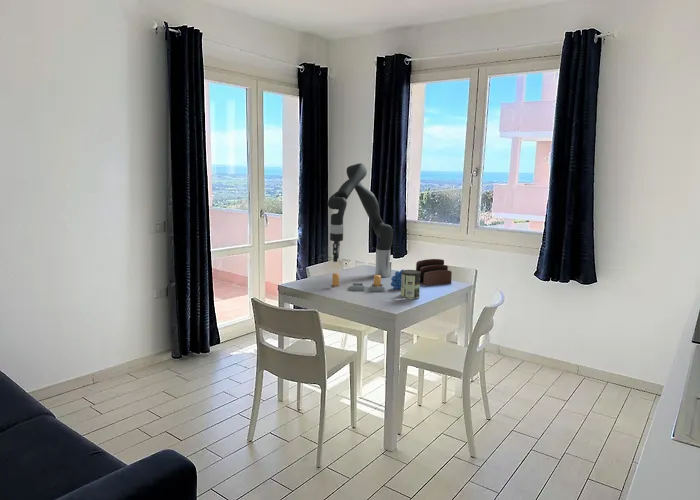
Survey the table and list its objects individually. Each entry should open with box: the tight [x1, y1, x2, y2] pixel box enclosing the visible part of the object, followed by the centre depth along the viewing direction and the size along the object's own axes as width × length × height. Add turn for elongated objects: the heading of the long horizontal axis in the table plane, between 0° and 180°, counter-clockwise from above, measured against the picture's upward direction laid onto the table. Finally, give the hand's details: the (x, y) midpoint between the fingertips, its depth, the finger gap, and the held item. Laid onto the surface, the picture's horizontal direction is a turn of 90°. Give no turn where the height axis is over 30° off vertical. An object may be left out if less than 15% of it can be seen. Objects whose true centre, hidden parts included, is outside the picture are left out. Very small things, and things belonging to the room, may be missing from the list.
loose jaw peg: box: [331, 272, 340, 289], centre depth 295 cm, size 4×4×8 cm
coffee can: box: [400, 269, 421, 300], centre depth 278 cm, size 10×10×14 cm
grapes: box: [390, 269, 404, 290], centre depth 292 cm, size 12×7×12 cm, turn 109°
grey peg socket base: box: [348, 282, 386, 293], centre depth 289 cm, size 20×11×4 cm, turn 86°
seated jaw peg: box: [373, 274, 382, 287], centre depth 288 cm, size 4×4×8 cm
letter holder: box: [415, 258, 453, 286], centre depth 311 cm, size 10×20×14 cm, turn 113°
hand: (335, 260), depth 293 cm, fingers open, 8 cm apart
